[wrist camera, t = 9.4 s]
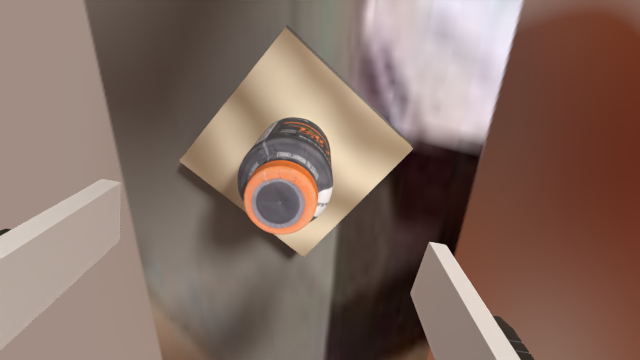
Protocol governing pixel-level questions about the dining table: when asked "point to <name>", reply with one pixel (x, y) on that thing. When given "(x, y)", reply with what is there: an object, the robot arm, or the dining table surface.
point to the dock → (309, 103)
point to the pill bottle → (286, 176)
